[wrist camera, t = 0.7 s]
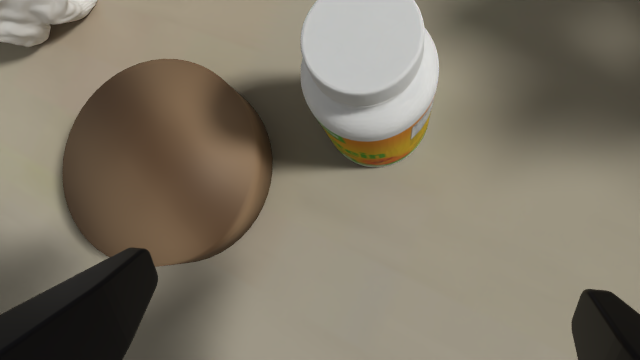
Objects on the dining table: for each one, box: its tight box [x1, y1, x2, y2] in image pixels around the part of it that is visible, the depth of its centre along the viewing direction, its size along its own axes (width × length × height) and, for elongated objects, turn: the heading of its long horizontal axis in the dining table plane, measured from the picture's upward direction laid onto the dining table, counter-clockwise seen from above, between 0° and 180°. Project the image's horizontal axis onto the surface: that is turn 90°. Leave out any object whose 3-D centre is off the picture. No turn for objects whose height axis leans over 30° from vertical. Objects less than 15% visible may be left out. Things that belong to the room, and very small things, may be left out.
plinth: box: [63, 59, 272, 267], centre depth 23 cm, size 11×11×3 cm
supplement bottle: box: [301, 0, 439, 167], centre depth 18 cm, size 5×5×10 cm
